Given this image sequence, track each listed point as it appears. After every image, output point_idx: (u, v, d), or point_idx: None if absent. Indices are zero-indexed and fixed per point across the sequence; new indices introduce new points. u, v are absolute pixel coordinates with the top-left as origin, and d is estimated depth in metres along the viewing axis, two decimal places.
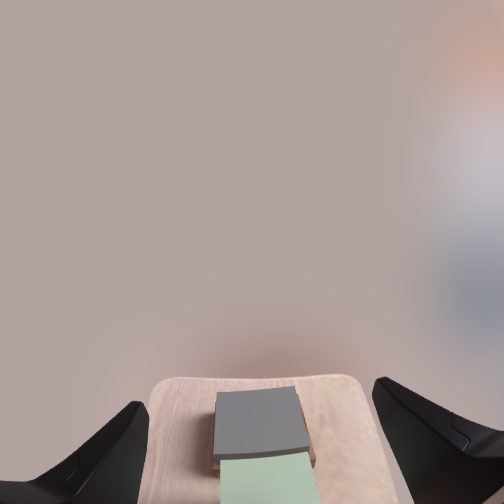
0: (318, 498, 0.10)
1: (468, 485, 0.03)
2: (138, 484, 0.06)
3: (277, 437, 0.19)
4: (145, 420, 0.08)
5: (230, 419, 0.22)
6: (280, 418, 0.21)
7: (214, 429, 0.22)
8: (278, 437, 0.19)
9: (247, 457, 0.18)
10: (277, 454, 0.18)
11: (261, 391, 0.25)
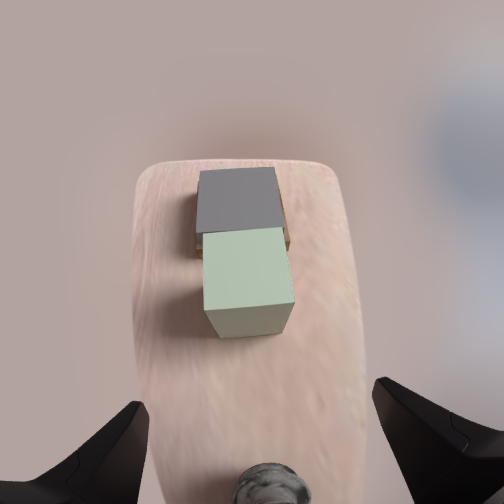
0: (289, 276, 0.17)
1: (468, 485, 0.03)
2: (138, 484, 0.06)
3: (255, 216, 0.25)
4: (145, 420, 0.08)
5: (212, 197, 0.26)
6: (258, 197, 0.26)
7: None
8: (256, 216, 0.25)
9: None
10: None
11: (242, 170, 0.28)
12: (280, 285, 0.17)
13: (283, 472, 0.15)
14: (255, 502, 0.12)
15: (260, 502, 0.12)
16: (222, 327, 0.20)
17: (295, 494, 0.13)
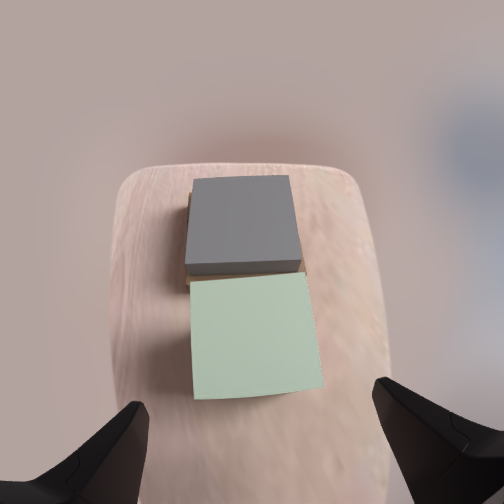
0: (316, 349, 0.11)
1: (468, 485, 0.03)
2: (138, 484, 0.06)
3: (263, 242, 0.19)
4: (145, 420, 0.08)
5: (207, 214, 0.20)
6: (268, 216, 0.20)
7: (187, 229, 0.22)
8: (264, 242, 0.19)
9: (225, 268, 0.19)
10: (261, 265, 0.19)
11: (247, 178, 0.22)
12: (303, 364, 0.11)
13: None
14: None
15: None
16: None
17: None
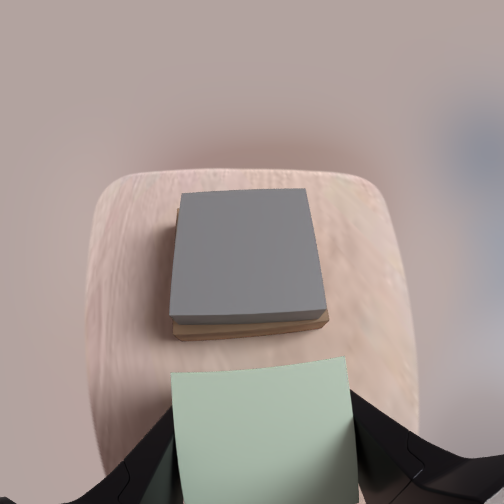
0: (355, 463, 0.06)
1: None
2: None
3: (275, 285, 0.14)
4: None
5: (199, 244, 0.15)
6: (281, 247, 0.15)
7: None
8: (276, 285, 0.14)
9: (224, 319, 0.14)
10: (272, 316, 0.14)
11: (252, 192, 0.17)
12: (335, 482, 0.06)
13: None
14: None
15: None
16: None
17: None
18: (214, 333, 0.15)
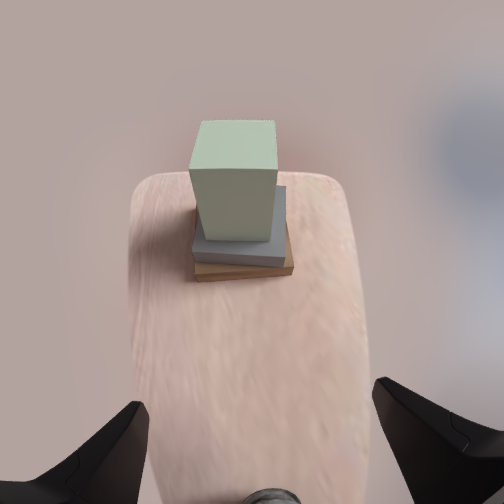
0: (275, 151, 0.17)
1: (467, 485, 0.03)
2: (138, 484, 0.06)
3: None
4: (145, 420, 0.08)
5: None
6: None
7: (195, 228, 0.27)
8: None
9: (223, 258, 0.24)
10: (252, 259, 0.24)
11: None
12: (265, 156, 0.17)
13: (284, 500, 0.13)
14: None
15: None
16: (207, 212, 0.20)
17: None
18: (220, 273, 0.25)
